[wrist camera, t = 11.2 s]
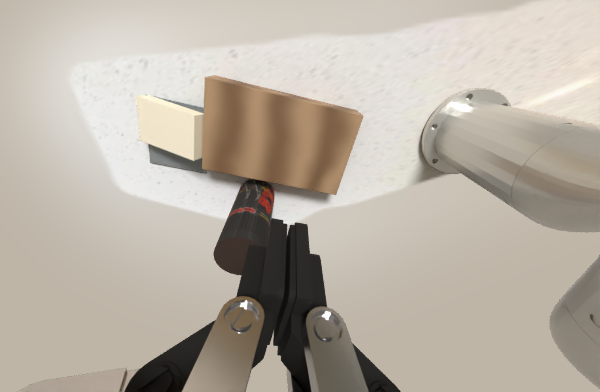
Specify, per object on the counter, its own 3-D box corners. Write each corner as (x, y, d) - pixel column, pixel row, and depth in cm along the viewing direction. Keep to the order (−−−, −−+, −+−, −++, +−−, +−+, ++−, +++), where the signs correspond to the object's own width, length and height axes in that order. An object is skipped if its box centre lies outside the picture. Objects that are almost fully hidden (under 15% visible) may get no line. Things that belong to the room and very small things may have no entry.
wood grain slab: (356, 110, 34) (363, 116, 31) (332, 183, 40) (335, 194, 36) (214, 75, 32) (205, 77, 28) (210, 158, 37) (201, 168, 34)
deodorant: (236, 179, 39) (208, 238, 26) (272, 177, 39) (261, 235, 26) (242, 209, 42) (219, 276, 29) (276, 208, 42) (268, 273, 29)
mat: (209, 109, 34) (208, 109, 33) (206, 172, 38) (206, 173, 38) (145, 94, 33) (144, 95, 32) (151, 161, 37) (150, 162, 37)
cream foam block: (205, 113, 31) (194, 115, 29) (203, 157, 34) (193, 160, 32) (149, 95, 32) (135, 95, 31) (152, 137, 35) (140, 140, 33)
